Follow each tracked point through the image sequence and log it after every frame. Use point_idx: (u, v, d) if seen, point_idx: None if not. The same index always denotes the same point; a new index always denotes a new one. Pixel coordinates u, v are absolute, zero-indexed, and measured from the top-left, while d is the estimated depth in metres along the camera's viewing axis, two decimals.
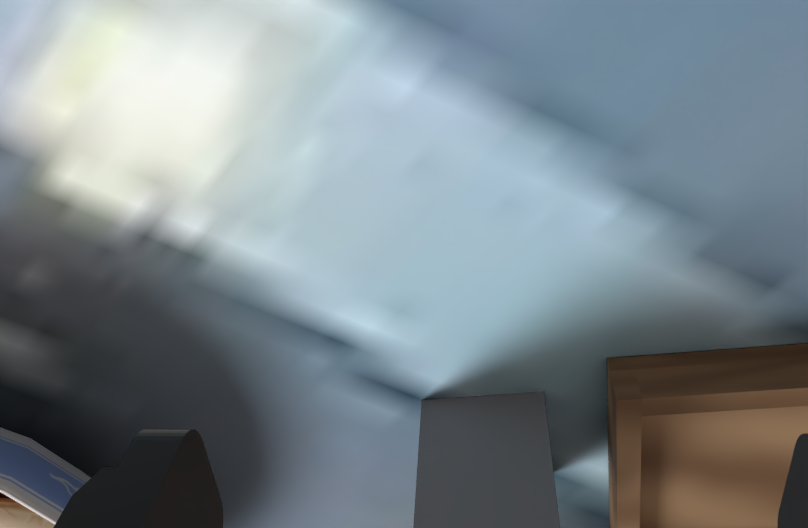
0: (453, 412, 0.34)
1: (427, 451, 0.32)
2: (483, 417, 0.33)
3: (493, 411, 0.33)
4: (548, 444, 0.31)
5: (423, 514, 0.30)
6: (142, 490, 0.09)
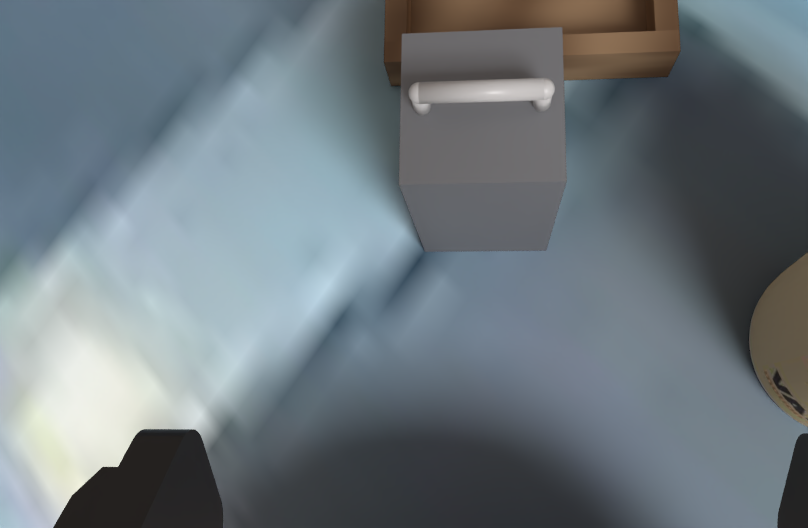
0: None
1: None
2: None
3: None
4: None
5: None
6: (142, 490, 0.09)
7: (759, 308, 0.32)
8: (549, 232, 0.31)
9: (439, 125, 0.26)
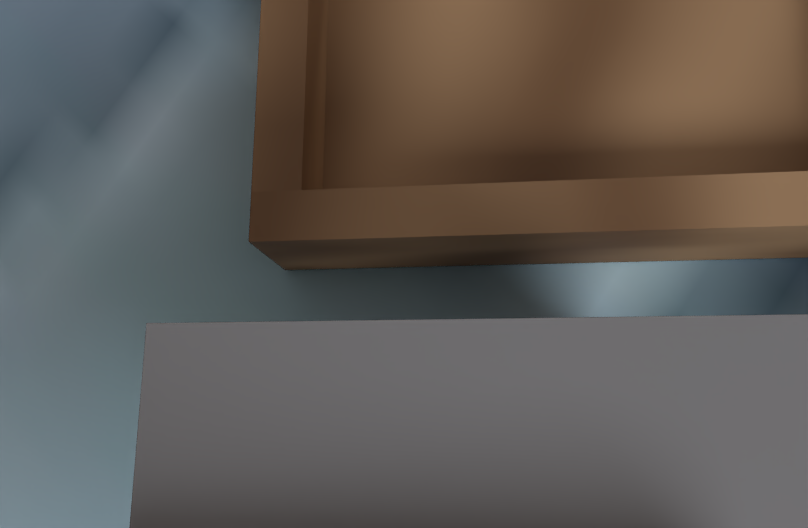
0: None
1: None
2: None
3: None
4: None
5: None
6: None
7: None
8: None
9: None
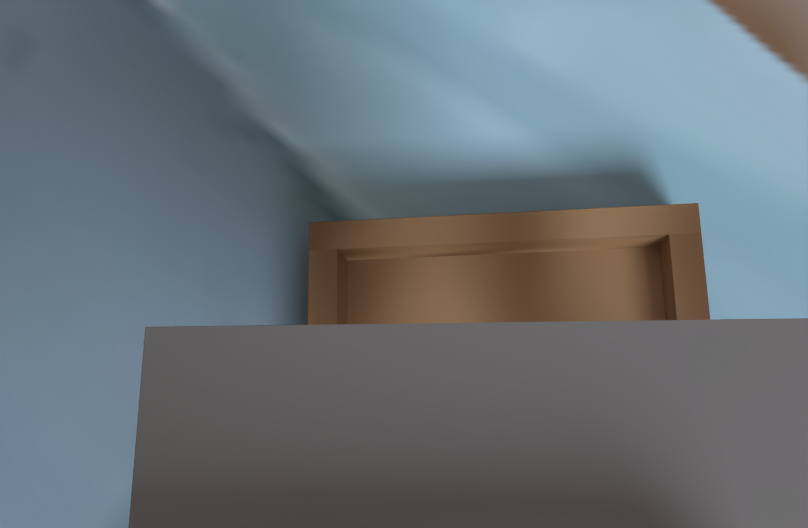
0: None
1: None
2: None
3: None
4: None
5: None
6: None
7: None
8: None
9: None
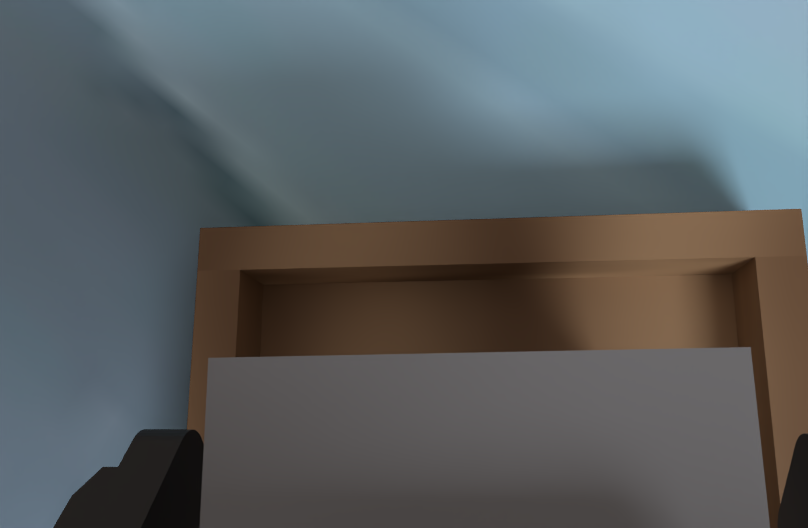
0: None
1: None
2: None
3: None
4: None
5: None
6: (142, 490, 0.09)
7: None
8: None
9: None
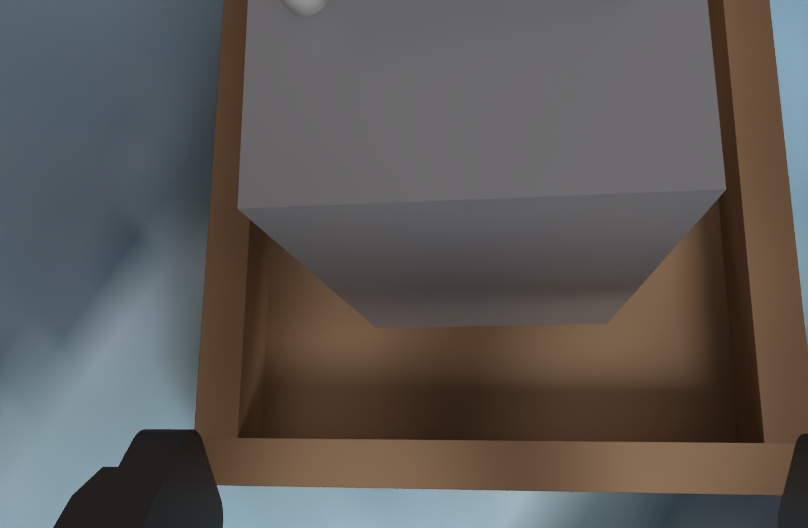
0: None
1: None
2: None
3: None
4: None
5: None
6: (142, 490, 0.09)
7: None
8: (624, 298, 0.15)
9: (353, 40, 0.09)
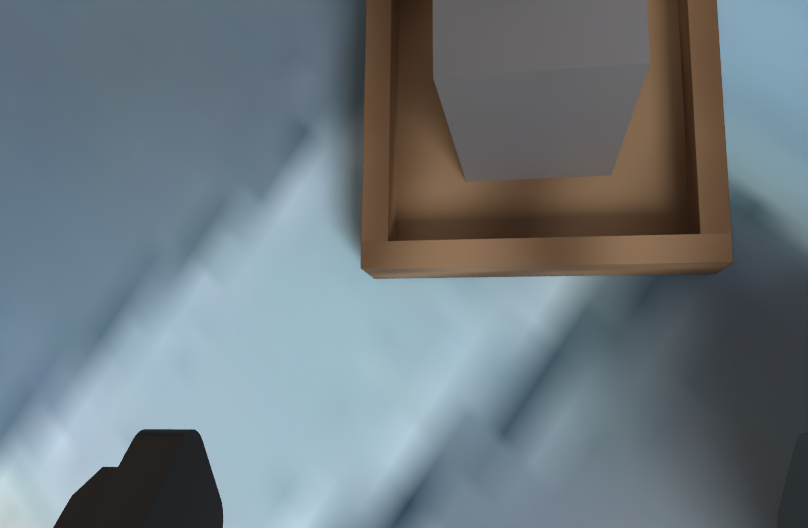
0: None
1: None
2: None
3: None
4: None
5: None
6: (142, 490, 0.09)
7: None
8: (618, 147, 0.26)
9: (483, 0, 0.20)
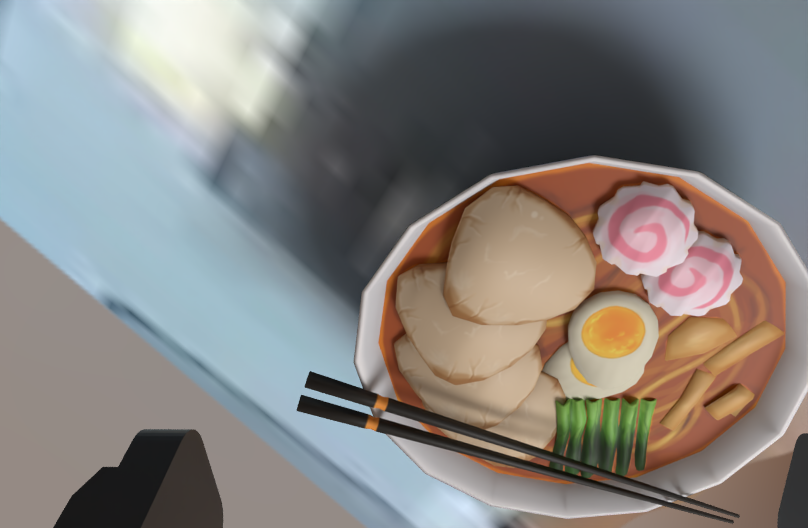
0: None
1: None
2: None
3: None
4: None
5: None
6: (142, 490, 0.09)
7: None
8: None
9: None
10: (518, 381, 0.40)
